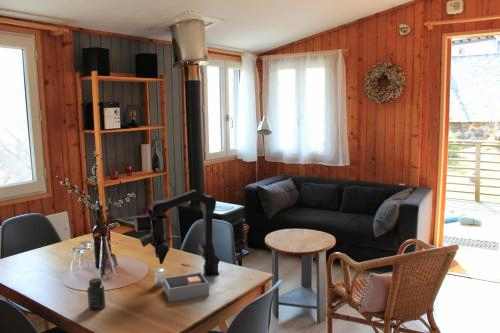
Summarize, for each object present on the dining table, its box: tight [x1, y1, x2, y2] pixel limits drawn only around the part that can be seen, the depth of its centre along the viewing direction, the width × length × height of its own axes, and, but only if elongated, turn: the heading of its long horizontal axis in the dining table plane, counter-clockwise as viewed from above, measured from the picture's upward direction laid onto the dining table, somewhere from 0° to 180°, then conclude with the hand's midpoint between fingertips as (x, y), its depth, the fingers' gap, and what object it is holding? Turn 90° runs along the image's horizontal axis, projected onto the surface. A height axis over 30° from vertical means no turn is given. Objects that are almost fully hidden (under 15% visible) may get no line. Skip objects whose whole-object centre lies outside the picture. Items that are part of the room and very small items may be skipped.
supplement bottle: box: [86, 277, 106, 312], centre depth 185 cm, size 7×7×12 cm
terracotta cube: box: [187, 276, 201, 285], centre depth 200 cm, size 5×5×5 cm
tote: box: [162, 271, 210, 303], centre depth 199 cm, size 18×14×6 cm
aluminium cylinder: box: [154, 267, 167, 287], centre depth 208 cm, size 5×5×7 cm
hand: (159, 260), depth 207 cm, fingers open, 9 cm apart
